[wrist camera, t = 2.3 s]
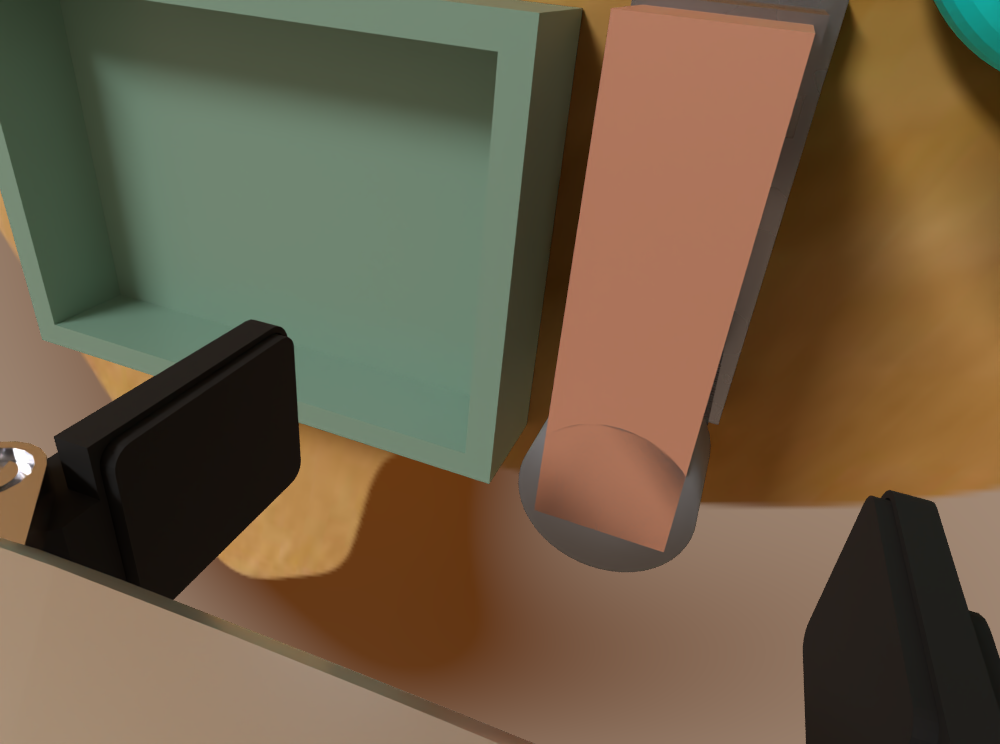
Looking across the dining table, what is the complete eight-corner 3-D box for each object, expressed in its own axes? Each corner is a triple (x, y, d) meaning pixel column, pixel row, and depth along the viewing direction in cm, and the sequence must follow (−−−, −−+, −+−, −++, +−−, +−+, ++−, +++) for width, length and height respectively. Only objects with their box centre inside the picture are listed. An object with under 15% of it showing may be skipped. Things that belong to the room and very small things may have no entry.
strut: (617, 1, 15) (581, 4, 13) (842, 28, 14) (849, 37, 11) (543, 476, 22) (510, 538, 20) (689, 522, 21) (674, 594, 18)
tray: (582, 8, 20) (539, 12, 17) (526, 424, 28) (489, 484, 25) (41, -59, 26) (-72, -66, 23) (118, 304, 34) (42, 339, 30)
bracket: (657, -24, 19) (612, -26, 15) (847, -3, 18) (861, 1, 14) (585, 374, 26) (540, 454, 22) (720, 410, 25) (702, 504, 20)
